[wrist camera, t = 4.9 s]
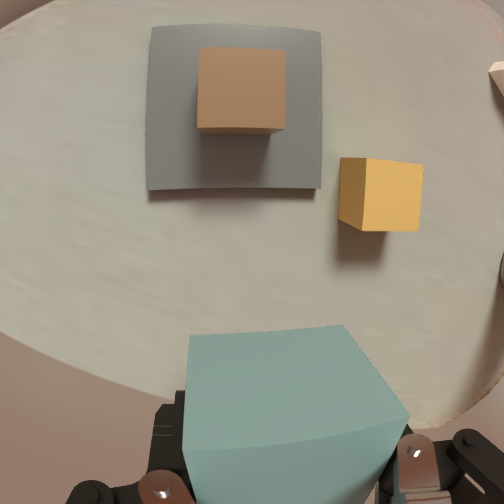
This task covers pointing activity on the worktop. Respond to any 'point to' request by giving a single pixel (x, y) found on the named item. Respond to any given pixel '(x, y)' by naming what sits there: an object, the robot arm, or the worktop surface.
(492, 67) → the notched block
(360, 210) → the ochre block
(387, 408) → the teal block
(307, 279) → the worktop surface
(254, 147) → the baseplate
